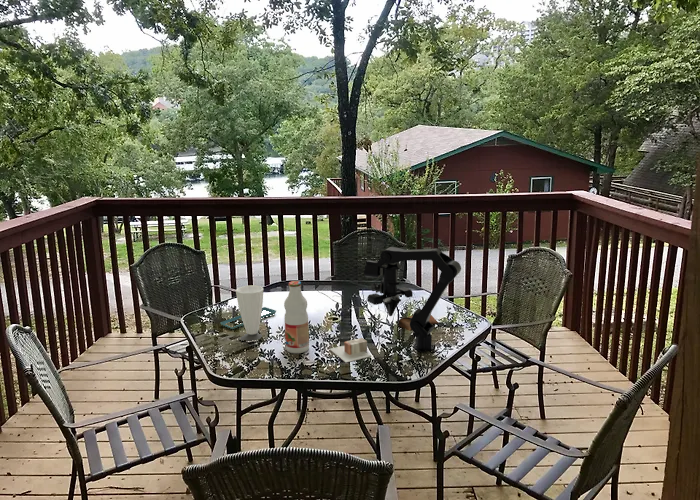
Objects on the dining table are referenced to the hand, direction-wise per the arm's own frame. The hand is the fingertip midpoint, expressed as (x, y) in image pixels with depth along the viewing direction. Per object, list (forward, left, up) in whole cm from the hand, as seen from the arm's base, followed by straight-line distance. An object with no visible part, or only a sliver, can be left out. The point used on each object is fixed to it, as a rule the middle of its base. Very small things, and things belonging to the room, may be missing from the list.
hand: (390, 315), depth 212 cm
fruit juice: (+14, +36, -12) cm, 40 cm away
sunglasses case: (+11, -22, -13) cm, 28 cm away
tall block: (0, +13, -10) cm, 16 cm away
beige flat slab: (0, +19, -12) cm, 22 cm away
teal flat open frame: (+56, +43, -13) cm, 71 cm away
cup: (+35, +48, -12) cm, 60 cm away
